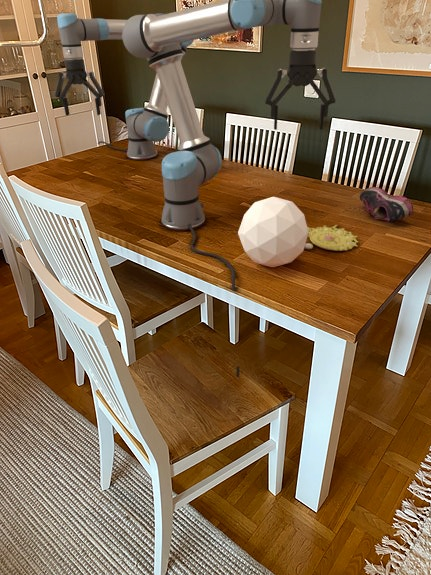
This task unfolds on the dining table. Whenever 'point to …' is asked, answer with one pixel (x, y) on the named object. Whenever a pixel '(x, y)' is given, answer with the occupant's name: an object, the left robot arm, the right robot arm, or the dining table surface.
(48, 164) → the dining table surface
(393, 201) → the athletic shoe
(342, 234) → the decorative object
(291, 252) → the sphere
